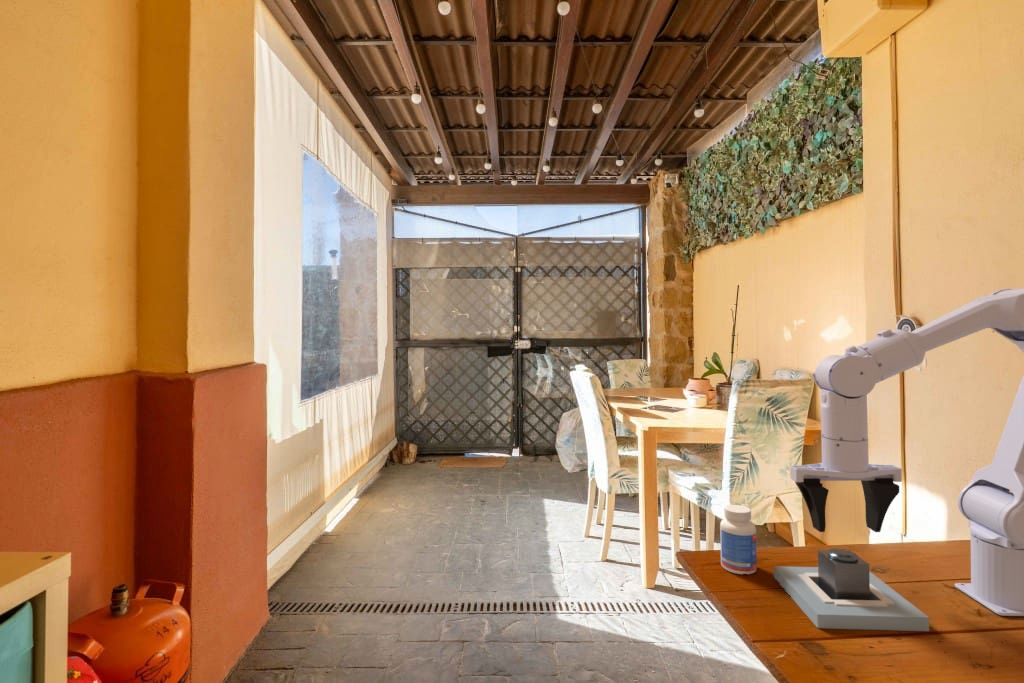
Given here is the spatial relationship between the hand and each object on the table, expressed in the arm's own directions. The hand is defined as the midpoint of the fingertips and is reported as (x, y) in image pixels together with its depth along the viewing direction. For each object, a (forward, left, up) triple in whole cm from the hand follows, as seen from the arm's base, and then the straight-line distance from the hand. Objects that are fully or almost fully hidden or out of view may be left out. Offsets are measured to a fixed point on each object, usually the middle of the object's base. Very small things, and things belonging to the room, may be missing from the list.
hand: (846, 529), depth 74 cm
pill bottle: (+13, -7, -10) cm, 18 cm away
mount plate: (+2, +3, -9) cm, 10 cm away
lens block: (+2, +3, -9) cm, 10 cm away
